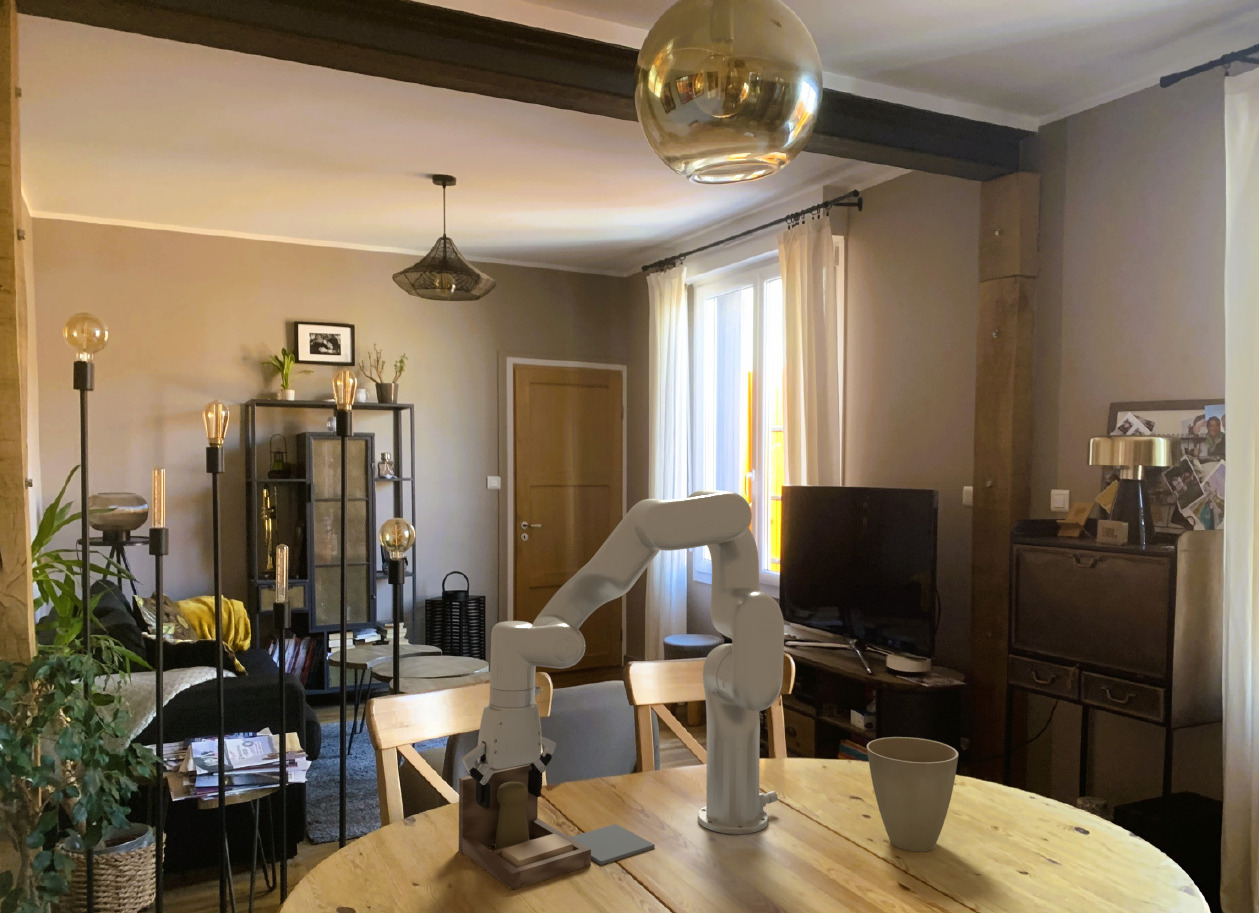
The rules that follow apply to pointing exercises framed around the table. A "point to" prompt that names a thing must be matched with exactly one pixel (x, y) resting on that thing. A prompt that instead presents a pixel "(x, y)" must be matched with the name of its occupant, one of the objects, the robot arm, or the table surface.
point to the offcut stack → (536, 850)
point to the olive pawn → (512, 815)
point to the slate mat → (612, 843)
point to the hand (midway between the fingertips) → (509, 800)
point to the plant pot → (912, 788)
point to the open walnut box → (481, 833)
